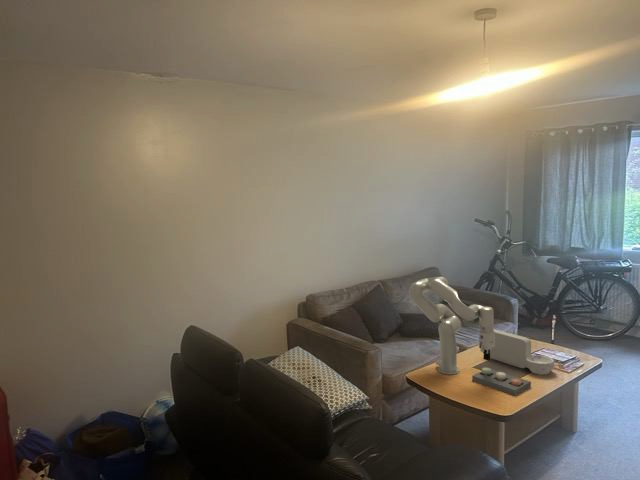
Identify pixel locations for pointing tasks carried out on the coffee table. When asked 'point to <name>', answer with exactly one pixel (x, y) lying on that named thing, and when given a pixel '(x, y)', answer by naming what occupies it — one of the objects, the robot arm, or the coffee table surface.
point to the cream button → (500, 375)
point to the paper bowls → (539, 364)
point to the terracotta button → (516, 382)
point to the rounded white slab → (511, 349)
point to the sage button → (486, 371)
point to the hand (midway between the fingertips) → (486, 359)
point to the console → (501, 382)
